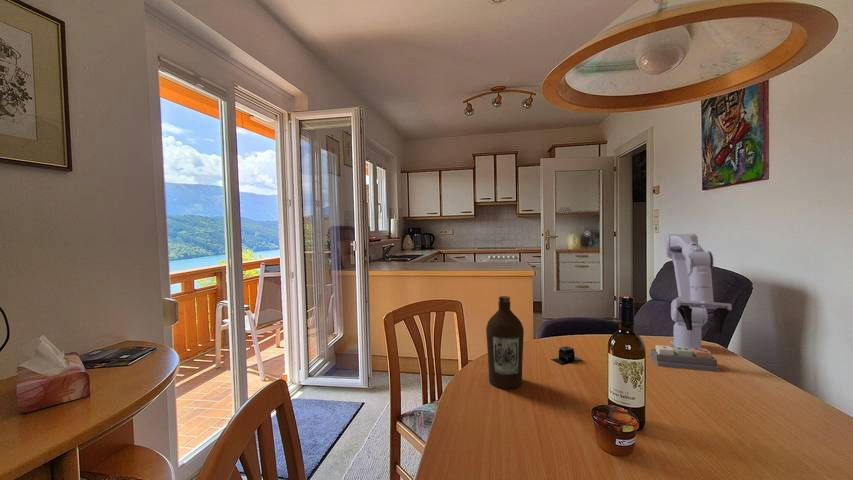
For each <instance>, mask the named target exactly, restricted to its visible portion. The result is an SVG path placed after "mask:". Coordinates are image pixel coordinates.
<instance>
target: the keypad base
mask: <svg viewBox="0 0 853 480" xmlns="http://www.w3.org/2000/svg"><path fill="white" fill-rule="evenodd" d="M649 357H650V358H651V360H652V362H654V363H655V364H656V366H658V367H667V368H677V369H688V370H689V369H690V370H700V371H711V372H720V368H719V366H718V359H717V358H715V357H714V356H712V359H709V358H697V357H695V356H694V355H693V357H685V356H677V355H676V354H675V353H674V356H673V355H661V354H658V353H657V352H656V348H651V351H650V354H649Z"/></svg>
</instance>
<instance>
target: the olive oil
mask: <svg viewBox="0 0 853 480" xmlns="http://www.w3.org/2000/svg"><path fill="white" fill-rule="evenodd" d="M524 331H525V330H524V326H523V323H522V321H521V320H520V319H519V317H517V315H515V313H514V312H513V311H512V310H511V297H510V296H508V295H500V296H498V310H497V311H496V312H495V313H494V314H493V315H492V316H491V317H490V318H489V320H488V322H487V324H486V328H485V333H486V348H487V364H488V365H487V366H488V381H489V384H491V386H494V387H495V388H499V389H502V390H503V389H504V390H513V389H517V388H519V387H521V385H523V354H524V353H523V352H524V336H525V335H524V334H525V333H524Z"/></svg>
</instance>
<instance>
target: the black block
mask: <svg viewBox="0 0 853 480" xmlns="http://www.w3.org/2000/svg"><path fill="white" fill-rule="evenodd" d="M550 360H551V361H553V362H554V363H557V364H559V365H560V366H566V365H570V364H574V363H575V364H576V363H579V362H583V361H584V359H581V358H579V357H577V356H575V349H574V348H572V347H570V346H562V347H559V349H558V357H555V358H551V359H550Z"/></svg>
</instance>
